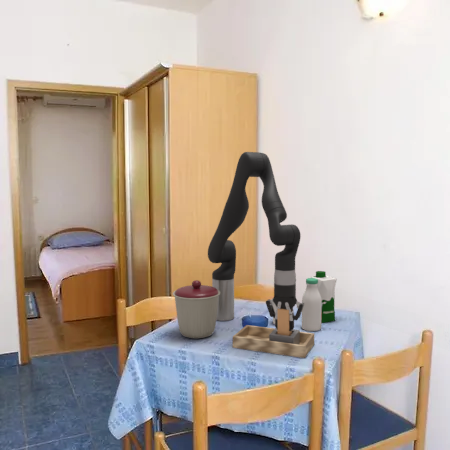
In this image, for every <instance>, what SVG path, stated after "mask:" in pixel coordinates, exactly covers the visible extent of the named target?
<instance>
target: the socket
mask: <svg viewBox="0 0 450 450" xmlns="http://www.w3.org/2000/svg"><path fill="white" fill-rule="evenodd" d="M300 332H301V330H300V329H296V328H295V329H293V330H292V334H291V336H288V335H280V334H277V328H276V327H274V330H273V331H272V332H271V333H270V334H269V341H276V342H283V343H291V344H298V345H299V344H300Z"/></svg>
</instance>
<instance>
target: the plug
mask: <svg viewBox="0 0 450 450" xmlns="http://www.w3.org/2000/svg"><path fill="white" fill-rule="evenodd" d="M289 321H290V319H289V310H287V309H278V330H277V334H280V335H288V336H291V334H292V331H289Z"/></svg>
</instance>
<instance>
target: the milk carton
mask: <svg viewBox="0 0 450 450" xmlns="http://www.w3.org/2000/svg"><path fill="white" fill-rule="evenodd" d="M310 278H316V279H318V285H317V288H318V291H319V293H320V296H321V301H322V321H321V324H323V323H331V322H335V321H336V317H335V315H336V314H335V289H336V284H337V280H338V279H337V278H336V277H334V276H330V275H327V274H326V271H322V270H317V271H315V276H310Z"/></svg>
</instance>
